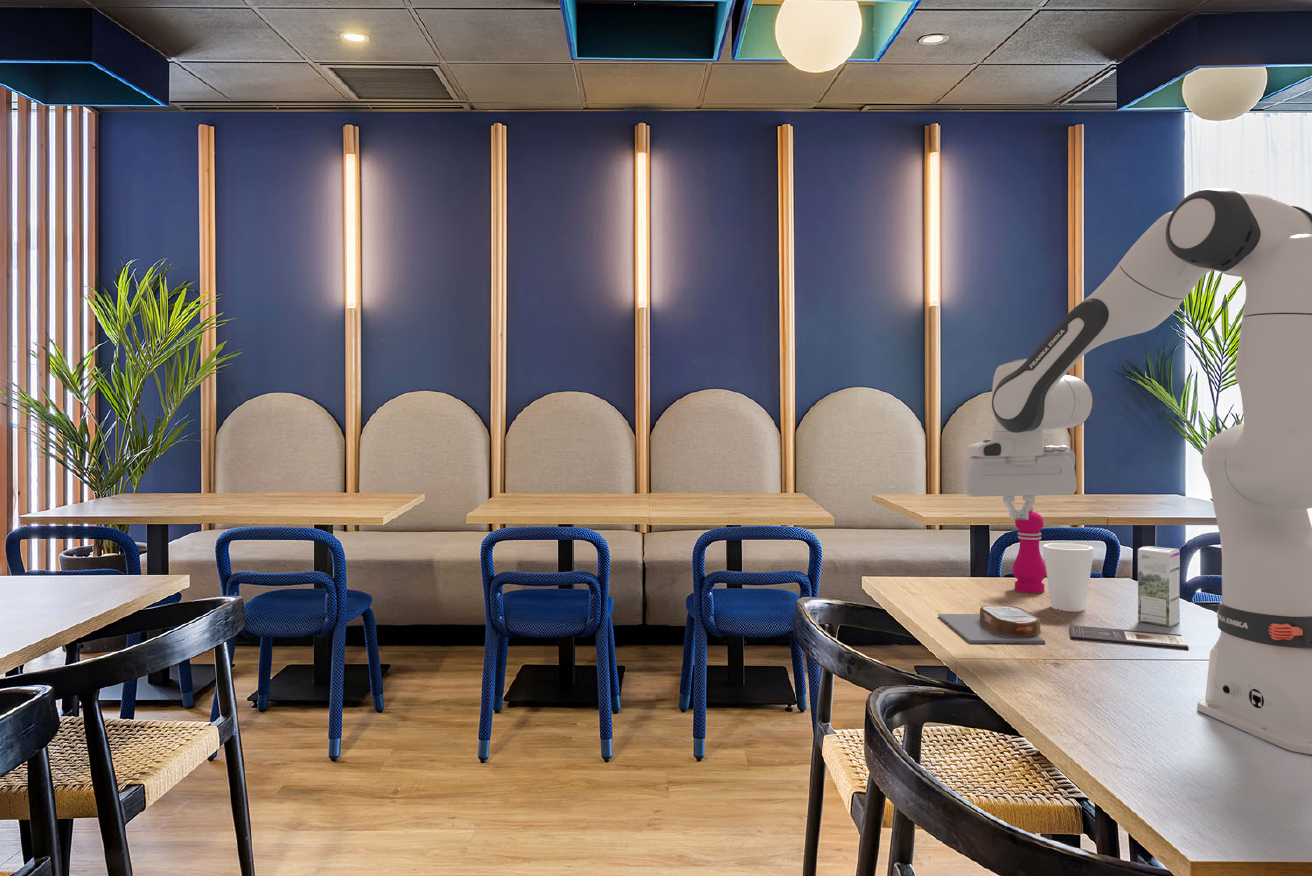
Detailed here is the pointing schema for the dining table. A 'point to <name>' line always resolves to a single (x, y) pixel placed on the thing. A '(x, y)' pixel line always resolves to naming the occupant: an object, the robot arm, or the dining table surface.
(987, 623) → the tin
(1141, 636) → the chocolate bar
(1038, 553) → the pepper mill
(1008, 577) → the dining table surface
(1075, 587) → the foam cup
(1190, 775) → the dining table surface
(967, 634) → the slate board
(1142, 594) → the syrup box
